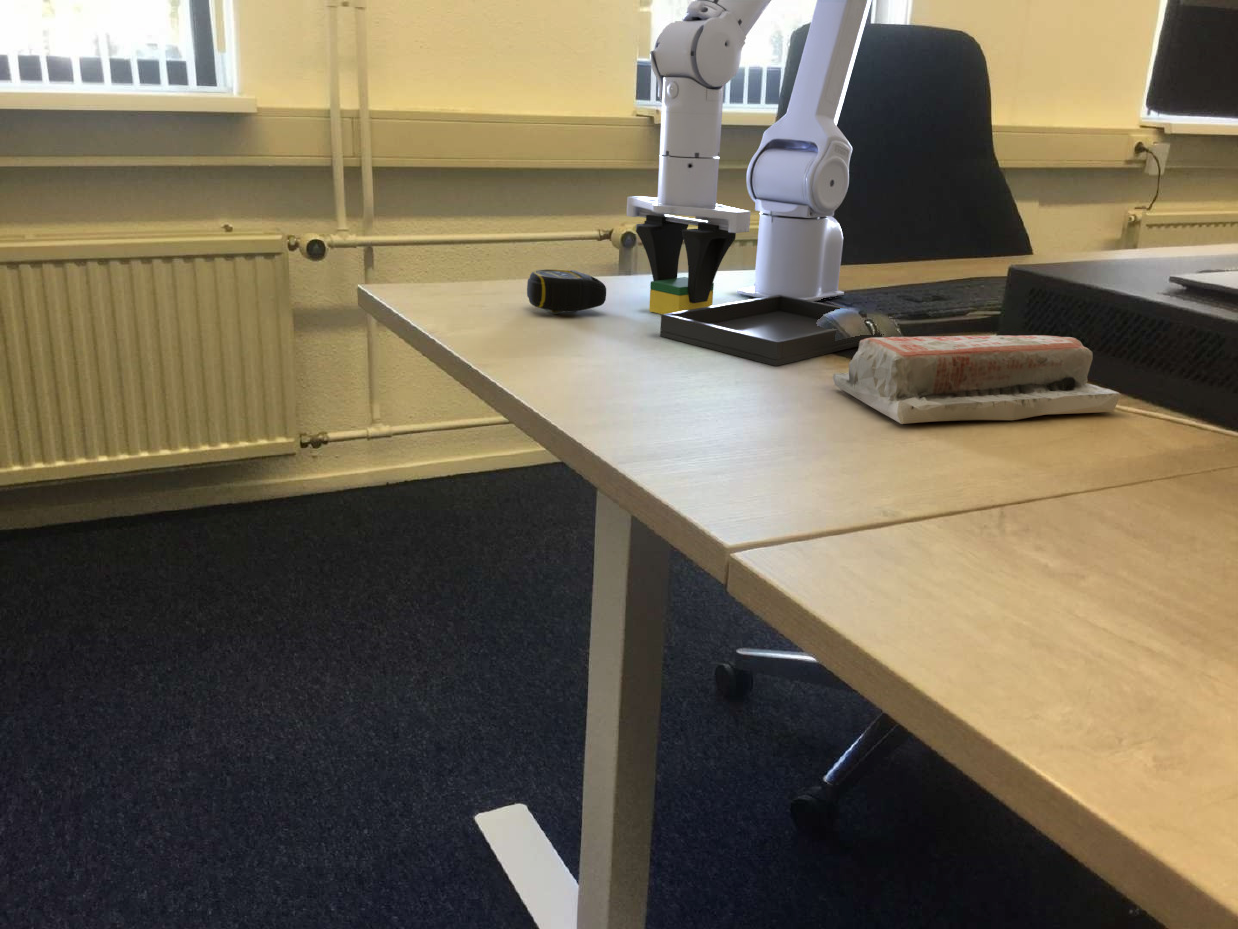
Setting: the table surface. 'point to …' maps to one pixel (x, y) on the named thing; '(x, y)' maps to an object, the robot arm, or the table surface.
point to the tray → (760, 329)
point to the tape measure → (564, 290)
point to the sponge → (673, 296)
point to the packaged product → (974, 378)
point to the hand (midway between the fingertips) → (681, 297)
